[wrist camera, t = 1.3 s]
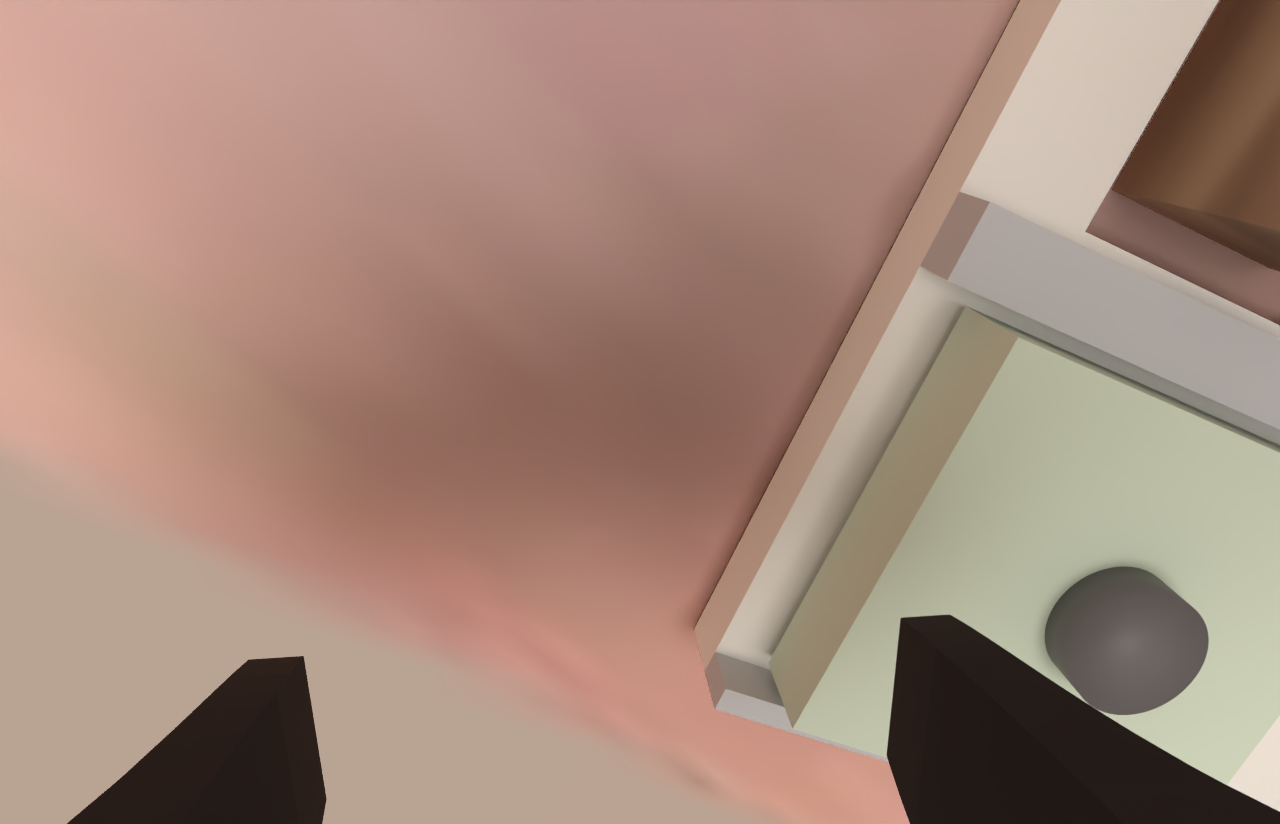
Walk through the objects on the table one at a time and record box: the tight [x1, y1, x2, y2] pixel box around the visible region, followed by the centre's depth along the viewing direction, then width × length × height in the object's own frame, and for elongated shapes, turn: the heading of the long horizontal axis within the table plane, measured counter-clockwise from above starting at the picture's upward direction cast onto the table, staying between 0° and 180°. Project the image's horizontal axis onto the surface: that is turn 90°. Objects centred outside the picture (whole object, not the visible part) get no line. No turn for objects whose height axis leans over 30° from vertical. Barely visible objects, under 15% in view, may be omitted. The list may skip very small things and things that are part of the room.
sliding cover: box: [768, 306, 1280, 785], centre depth 18 cm, size 9×8×3 cm
